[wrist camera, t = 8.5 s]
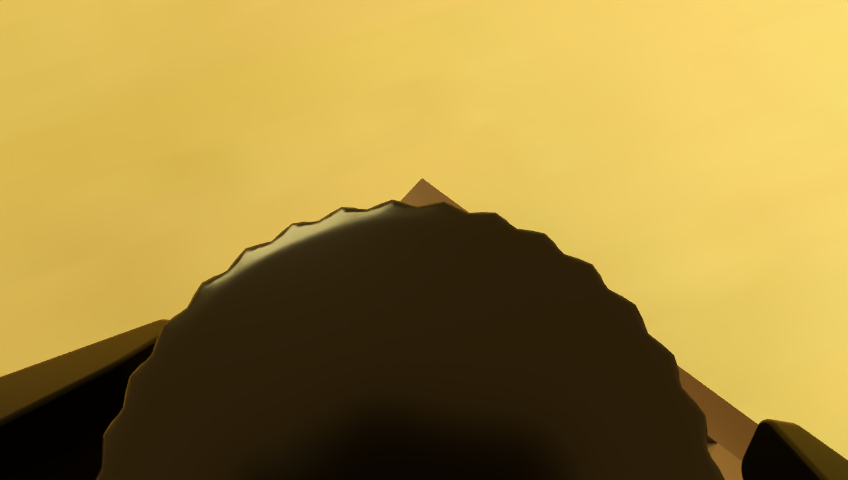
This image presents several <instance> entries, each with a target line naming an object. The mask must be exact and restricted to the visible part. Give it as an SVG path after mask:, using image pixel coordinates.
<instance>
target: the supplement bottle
mask: <svg viewBox="0 0 848 480" xmlns="http://www.w3.org/2000/svg"><path fill="white" fill-rule="evenodd" d="M707 434H708V431H707V423H706V415H705V414H704V413H703V411H702V410H701V409H700V407H699V406H698V405H697V403H696V402H695V401H694V400H693V399H692V398H691V397H690V396H689V394H688V393H687V392H686V391H685V390H684V389H683V388H682V386H681V382H680V379H679V370H678V367H677V363H676V360H675V357H674V355H673V354H672V353H671V352H670V351H669V350H668V349H666V348H665V347H664V346H663V345H662V344H661V343H660V342H658V341H657V340H656V339H654V338H653V337H652V336H651V335H649V334H648V332H647V329H646V327H645V324H644V321H643V319H642V317H641V315H640V313H639V311H638V309H637V307H636V305H635V304H633V303H632V302H630V301H629V300H627V299H626V298H624V297H622V296H620V295H619V294H617V293H615V292H613V291H611V290H609V289H608V288H607V287H606V285H605V284H604V282H603V280H602V278H601V276H600V274H599V273H598V272H597V270H596V269H595V267H594V266H593V265H592V264H590V263H588V262H585V261H583V260H580V259H578V258H575V257H572V256H568V255H565V254H563V253H562V252H561V251H560V250H559V249H558V247H557V246H556V244H555V243H554V242H553V241H552V240H551V239H550V238H549V237H548V236H547V235H546V234H544V233H540V232H535V231H530V230H522V229H516V228H515V227H513V226H512V225H510V224H509V223H508V222H507V220H505V219H504V218H502V217H501V216H499V215H498V214H496V213H488V212H479V213H467V212H465V211H463V210H461V209H459V208H457V207H455V206H453V205H451V204H449V203H446V202H438V203H431V204H427V205H423V206H419V207H416V206H412V205H409V204H407V203H404V202H400V201H395V200H390V201H388V202H385V203H382V204H379V205H377V206H374V207H372V208H370V209H368V210H366V209H357V208H348V207H341V208H339V209H337V210H336V211H334V212H332V213H330V214H329V215H327V216H326V217H324V218H323V219H321V220H319V221H316V222H300V223H293V224H291V225H290V226H289V227H287V228H286V229H285V230H284V231H282V232H281V233H280V234H279V235H278V236H277V237H276V238H275V239H274V240H273V241H271V242H267V243H263V244H259V245H256V246H253V247H250V248H246V249H245V250H244V251H243V252H242V253H241V254H240V255H239V256H238V258H237V259H236V260H235V261H234V263H233V264H232V265H231V266H230V268H229V269H228V270H227V271H226V272H224V273H222V274H220V275H217V276H214V277H212V278H210V279H208V280H207V281H205V282H203V283H202V284H201V285H200V287H199V288H198V290H197V291H196V293H195V294H194V296H193V298H192V300H191V302H190V304H189V306H188V307H187V308H186V309H185V310H183V311H182V312H181V313H179V314H178V315H176V316H175V317H173V318H172V319H171V320H169V321H168V322H167V323H166V324H164V325H163V326H162V329H161V331H160V333H159V336H158V338H157V340H156V343H155V346H154V349H153V352H152V354H151V355H150V356H149V357H148V359H147V360H146V361H145V362H143V363H142V364H141V365H140V366H139V367H138V368H137V369H136V370H135V371H134V372H133V373H132V374H131V375H130V377H129V381H128V384H127V388H126V392H125V398H124V404H123V408H122V409H121V411H120V412H119V414H118V415H117V416H116V417H115V418H114V420H113V421H112V422H111V423H110V425H109V427H108V428H107V430H106V431H105V433H104V434H103V440H102V449H101V469H100V471H99V473H98V475H97V478H96V479H95V480H725V479H724V477H723V475H722V473H721V471H720V469H719V467H718V466H717V465H716V463H715V462H714V461H713V459H712V457H711V455H710V453H709V451H708V447H707Z"/></svg>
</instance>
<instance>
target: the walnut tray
mask: <svg viewBox="0 0 848 480" xmlns="http://www.w3.org/2000/svg"><path fill="white" fill-rule="evenodd" d="M400 202H404V203H407V204H409V205H412V206H416V207H419V206H423V205H427V204H431V203H438V202H446V203H449V204H451V205H453V206H455V207H457V208H459V209H461V210H463V211H465V212H467V211H466V210H465V209H463V208H462V207H460V206H459V205H458V204H456V203H455V202H454V201H452V200H451V199H450V198H448V197H447V196H445V195H444V194H443V193H441V192H440V191H439V190H437V189H436V188H435V187H433V186H432V185H430V184H429V183H428V182H426V181H425V180H424V179H421V180H420V181H419V182H418V183H417V184H416V185H415V186H414V187H413V188H412V190H411V191H410V192H409V193H408V194H407V195H406V196H405V197H404V198H403V199H402V200H401V201H400ZM467 213H469V212H467ZM677 367H678V370H679V379H680V382H681V386H682V388H683V389H684V390H685V391H686V392H687V393H688V394H689V396H690V397H691V398H692V399H693V400H694V401H695V402H696V403H697V405H698V406H699V407H700V409H701V410H702V411H703V413H704V414H705V415H706V423H707V431H708V434H707V447H708V451H709V453H710V455H711V457H712V459H713V461H714V462H715V463H716V465H717V466H718V467H719V469H720V471H721V473H722V475H723V477H724V479H725V480H743V478H742V472H741V464H742V459H743V456H744V454H745V452H746V450H747V448H748V446H749V443H750V441H751V439H752V437H753V435H754V433H755V430H756V428H757V426H758V424H757V423H755V422H754V421H752V420H751V419H750V418H748V417H747V416H746V415H744V414H743V413H742V412H740V411H739V410H737V409H736V408H735V407H733V406H732V405H731V404H729V403H728V402H727V401H725V400H724V399H722V398H721V397H720V396H718V395H717V394H716V393H714V392H713V391H712V390H710V389H709V388H707V387H706V386H705V385H703V384H702V383H701V382H699V381H698V380H697V379H695V378H694V377H692V376H691V375H690V374H688V373H687V372H686V371H684V370H683V369H681V368H680V367H679V366H677Z"/></svg>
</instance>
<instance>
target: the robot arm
mask: <svg viewBox="0 0 848 480" xmlns="http://www.w3.org/2000/svg"><path fill="white" fill-rule="evenodd" d="M168 321H169V320H165V319H163V320H158V321H155V322H152V323H150V324H147V325H144V326H141V327H138V328H136V329H133V330H130V331H127V332H125V333H122V334H119V335H116V336H113V337H111V338H108V339H105V340H102V341H100V342H97V343H94V344H91V345H88V346H86V347H83V348H80V349H77V350H75V351H72V352H69V353H66V354H63V355H61V356H58V357H55V358H52V359H49V360H47V361H44V362H41V363H38V364H36V365H33V366H30V367H27V368H24V369H22V370H19V371H16V372H13V373H11V374H8V375H5V376H2V377H0V480H95V479H96V478H97V475H98V473H99V471H100V469H101V449H102V440H103V434H104V433H105V431H106V430H107V428H108V427H109V425H110V423H111V422H112V421H113V420H114V418H115V417H116V416H117V415H118V414H119V412H120V411H121V409H122V408H123V404H124V398H125V392H126V388H127V384H128V381H129V377H130V375H131V374H132V373H133V372H134V371H135V370H136V369H137V368H138V367H139V366H140V365H141V364H142V363H143V362H145V361H146V360H147V359H148V357H149V356H150V355H151V354H152V352H153V349H154V346H155V343H156V340H157V338H158V336H159V333H160V331H161V329H162V326H163V325H164V324H166V323H167V322H168ZM741 472H742V478H743V480H848V460H847V459H845V458H844V457H842V456H841V455H840V454H838V453H837V452H835V451H834V450H833V449H831V448H830V447H828V446H827V445H826V444H824V443H823V442H821V441H820V440H818V439H817V438H816V437H814V436H813V435H811V434H810V433H809V432H807V431H806V430H804V429H803V428H802V427H800V426H798V425H796V424H794V423H790V422H784V421H778V420H771V419H766V420H763V421H761V422H760V423H759V425H758V426H757V428H756V430H755V433H754V435H753V437H752V439H751V441H750V443H749V446H748V448H747V450H746V452H745V454H744V456H743V459H742V464H741Z"/></svg>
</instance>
